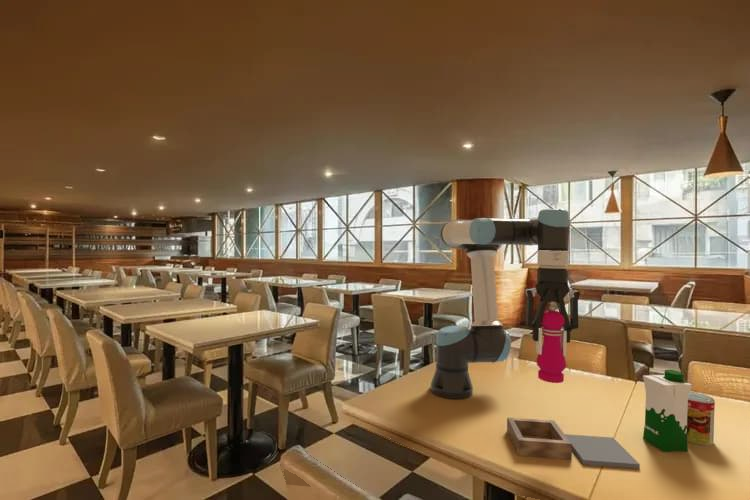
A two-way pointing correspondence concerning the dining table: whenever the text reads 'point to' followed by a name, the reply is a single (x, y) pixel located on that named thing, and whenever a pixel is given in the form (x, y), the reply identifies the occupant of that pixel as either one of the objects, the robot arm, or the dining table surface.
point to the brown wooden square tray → (539, 447)
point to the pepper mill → (551, 347)
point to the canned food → (700, 419)
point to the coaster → (601, 452)
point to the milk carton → (666, 411)
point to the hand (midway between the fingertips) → (550, 353)
